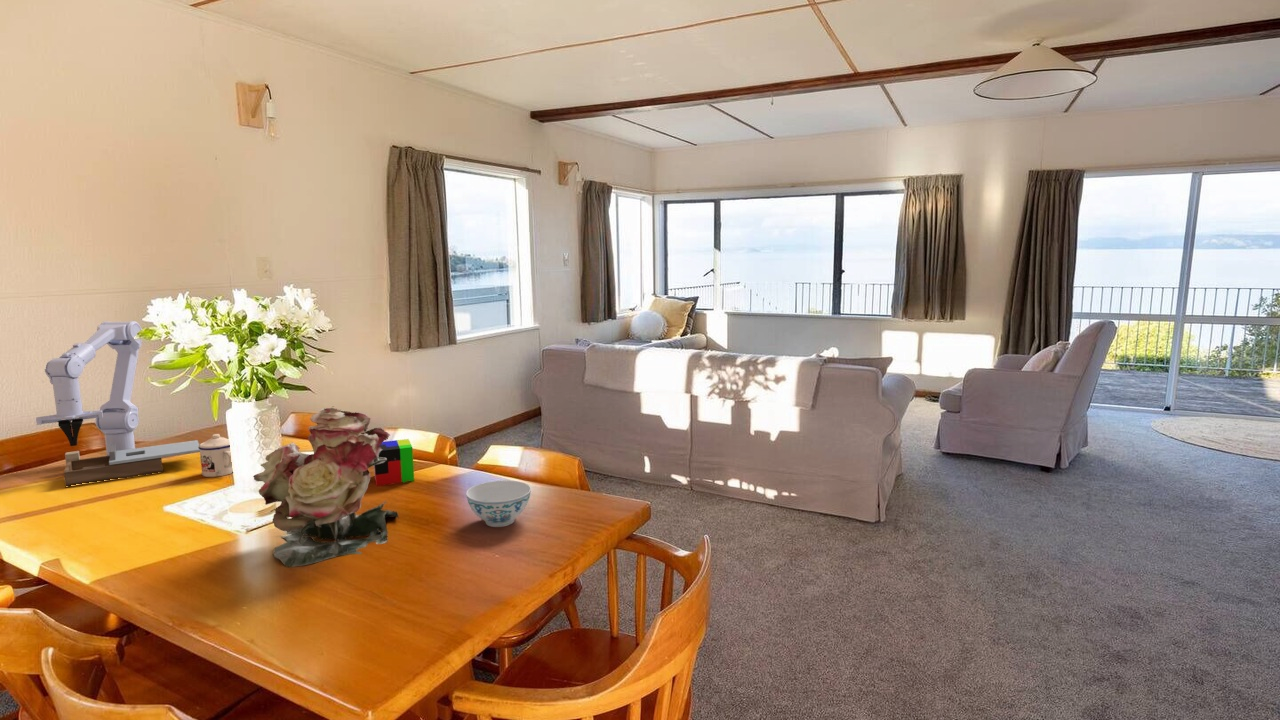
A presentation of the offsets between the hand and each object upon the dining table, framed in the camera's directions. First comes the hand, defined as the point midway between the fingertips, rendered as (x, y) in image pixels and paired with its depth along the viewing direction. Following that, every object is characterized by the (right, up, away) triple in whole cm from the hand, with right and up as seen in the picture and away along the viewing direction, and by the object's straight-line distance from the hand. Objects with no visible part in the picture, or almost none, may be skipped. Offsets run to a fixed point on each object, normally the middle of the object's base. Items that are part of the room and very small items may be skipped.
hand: (73, 445), depth 192 cm
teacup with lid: (+41, -9, +3) cm, 42 cm away
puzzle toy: (+94, -10, -2) cm, 94 cm away
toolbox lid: (+18, -4, +9) cm, 20 cm away
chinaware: (+131, -14, -35) cm, 137 cm away
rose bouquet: (+96, -16, -46) cm, 108 cm away
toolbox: (+10, -9, +3) cm, 14 cm away
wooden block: (-4, -9, +5) cm, 11 cm away
